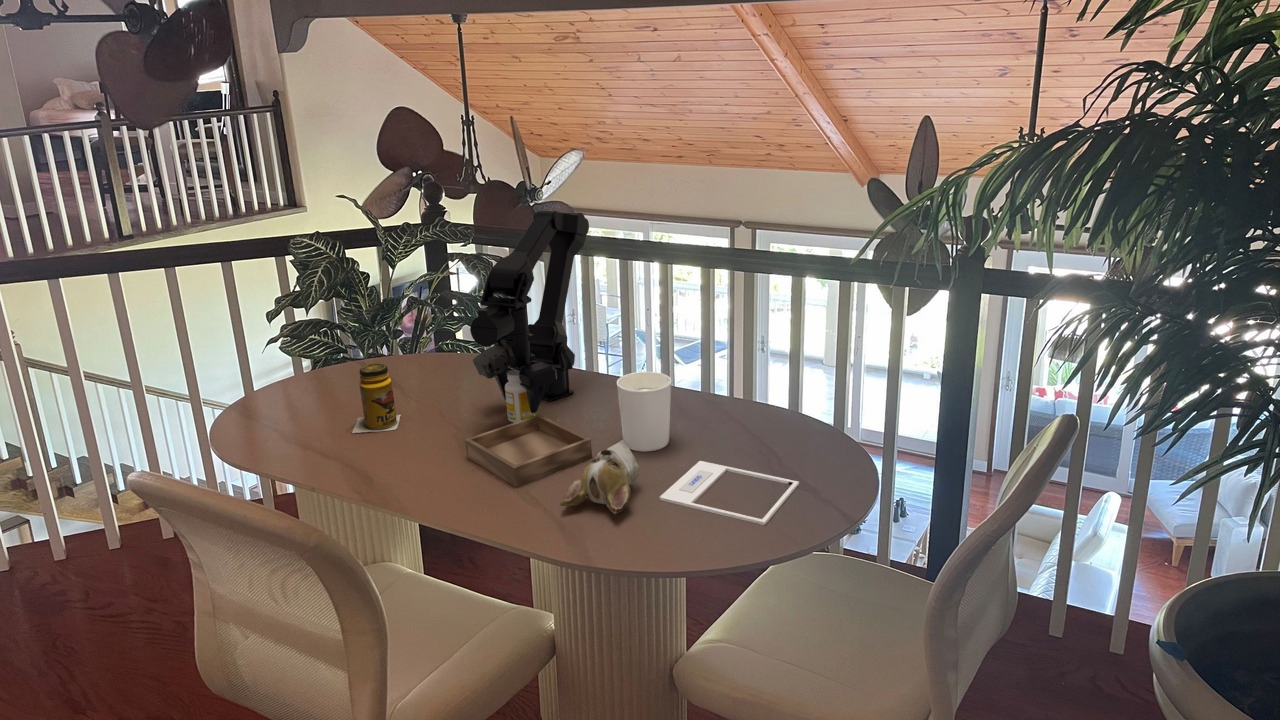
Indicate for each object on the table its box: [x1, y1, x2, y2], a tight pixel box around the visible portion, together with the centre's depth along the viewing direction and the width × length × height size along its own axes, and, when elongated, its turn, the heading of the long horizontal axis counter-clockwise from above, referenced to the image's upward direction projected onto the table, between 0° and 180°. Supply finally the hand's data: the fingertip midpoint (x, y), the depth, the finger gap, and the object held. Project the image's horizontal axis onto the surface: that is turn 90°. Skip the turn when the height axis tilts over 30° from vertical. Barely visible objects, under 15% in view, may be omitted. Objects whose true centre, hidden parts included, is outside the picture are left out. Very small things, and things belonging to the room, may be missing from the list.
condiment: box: [351, 363, 401, 434], centre depth 174 cm, size 7×8×12 cm
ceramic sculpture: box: [559, 439, 640, 515], centre depth 143 cm, size 11×9×15 cm
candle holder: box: [616, 371, 673, 452], centre depth 162 cm, size 10×10×12 cm
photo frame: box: [658, 460, 800, 526], centre depth 144 cm, size 15×1×18 cm
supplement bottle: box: [505, 369, 536, 423], centre depth 175 cm, size 5×5×10 cm
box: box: [464, 413, 593, 488], centre depth 159 cm, size 16×16×4 cm
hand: (520, 406), depth 176 cm, fingers open, 9 cm apart
